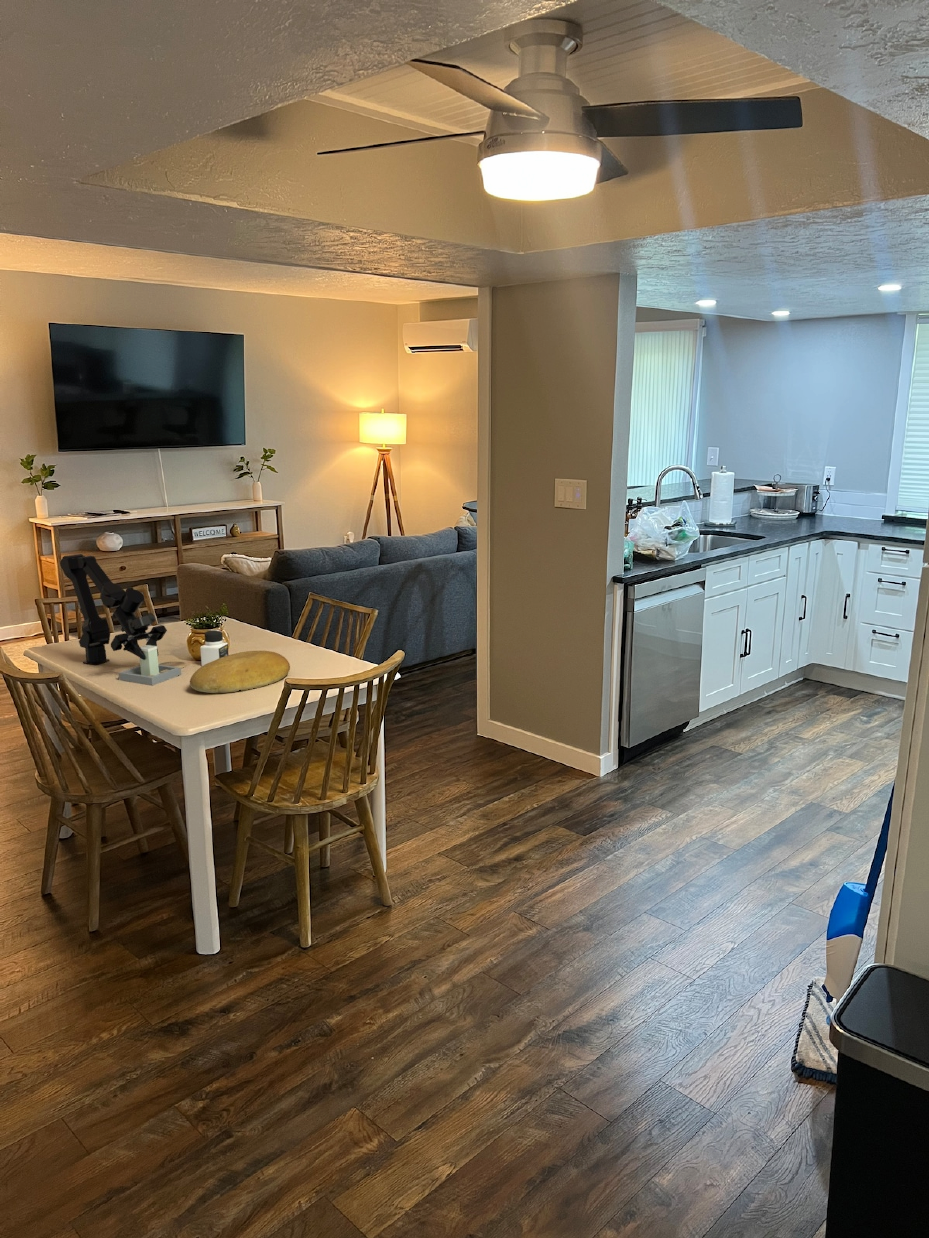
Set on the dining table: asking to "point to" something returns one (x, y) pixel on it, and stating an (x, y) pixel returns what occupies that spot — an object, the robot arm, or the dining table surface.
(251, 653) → the bread
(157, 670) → the tall square-topped block
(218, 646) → the medicine bottle
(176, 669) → the grey square frame
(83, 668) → the dining table surface
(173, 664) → the coaster
